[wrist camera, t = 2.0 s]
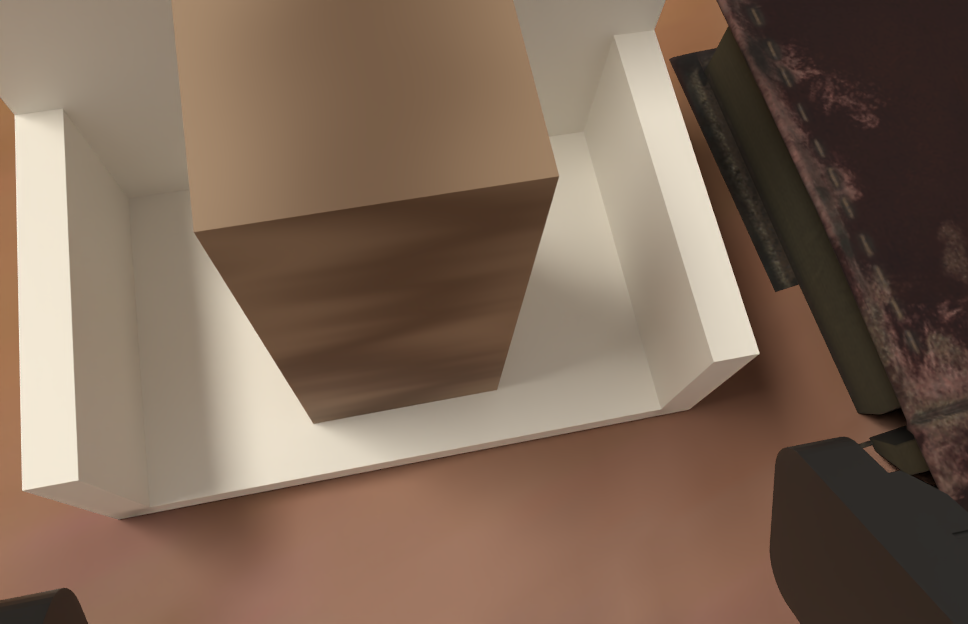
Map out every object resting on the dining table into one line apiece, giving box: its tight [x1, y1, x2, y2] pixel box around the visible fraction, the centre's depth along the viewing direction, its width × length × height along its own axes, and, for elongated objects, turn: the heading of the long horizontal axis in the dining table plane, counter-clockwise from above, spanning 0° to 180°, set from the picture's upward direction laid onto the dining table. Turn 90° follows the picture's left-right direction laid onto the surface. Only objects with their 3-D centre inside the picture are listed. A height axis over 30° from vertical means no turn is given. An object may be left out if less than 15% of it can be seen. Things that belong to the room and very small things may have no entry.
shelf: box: [0, 0, 760, 520], centre depth 21 cm, size 17×11×12 cm, turn 101°
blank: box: [171, 0, 559, 424], centre depth 19 cm, size 6×5×13 cm
